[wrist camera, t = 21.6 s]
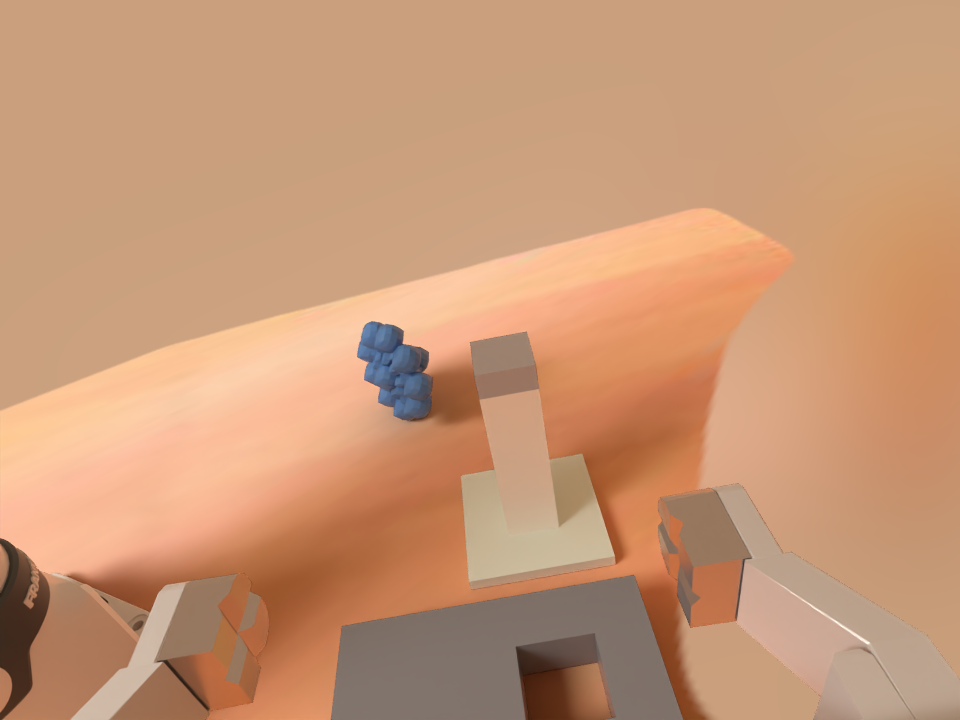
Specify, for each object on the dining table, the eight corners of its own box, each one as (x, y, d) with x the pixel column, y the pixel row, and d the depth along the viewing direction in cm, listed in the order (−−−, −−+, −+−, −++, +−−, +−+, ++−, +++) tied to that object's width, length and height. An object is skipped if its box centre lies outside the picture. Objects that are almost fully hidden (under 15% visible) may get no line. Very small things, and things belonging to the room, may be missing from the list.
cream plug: (509, 536, 48) (474, 375, 39) (503, 497, 51) (470, 342, 42) (559, 527, 48) (535, 364, 38) (550, 489, 51) (526, 331, 42)
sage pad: (471, 589, 45) (468, 581, 45) (462, 483, 54) (460, 475, 54) (615, 564, 45) (615, 556, 45) (583, 461, 54) (582, 453, 54)
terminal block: (337, 864, 33) (316, 842, 31) (356, 653, 43) (342, 626, 41) (700, 805, 32) (703, 778, 30) (635, 605, 42) (634, 575, 40)
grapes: (474, 419, 61) (451, 320, 55) (421, 455, 58) (390, 355, 52) (411, 376, 69) (384, 285, 63) (361, 406, 66) (327, 314, 60)
